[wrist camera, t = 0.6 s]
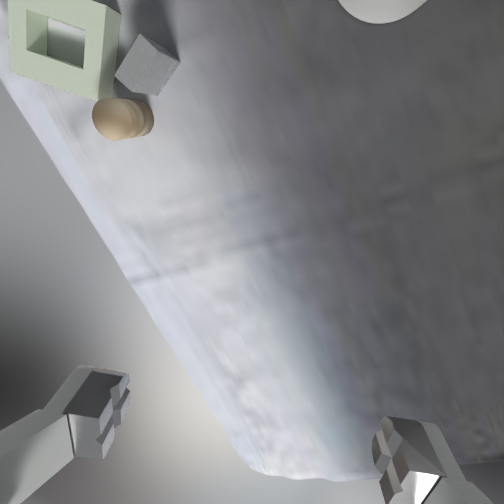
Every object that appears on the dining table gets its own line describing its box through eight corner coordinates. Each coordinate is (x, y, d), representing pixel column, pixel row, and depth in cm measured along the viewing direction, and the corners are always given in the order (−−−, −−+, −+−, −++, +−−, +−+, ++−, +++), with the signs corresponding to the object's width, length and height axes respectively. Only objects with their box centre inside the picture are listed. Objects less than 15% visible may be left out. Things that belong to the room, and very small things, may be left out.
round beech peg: (123, 94, 45) (93, 91, 38) (156, 106, 45) (133, 105, 38) (119, 129, 47) (90, 133, 40) (150, 140, 47) (128, 145, 40)
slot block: (31, -18, 40) (6, -31, 37) (121, 14, 41) (106, 5, 37) (31, 75, 45) (9, 71, 41) (112, 102, 45) (97, 101, 42)
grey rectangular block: (143, 82, 44) (114, 75, 36) (166, 48, 42) (139, 33, 34) (158, 95, 45) (131, 91, 37) (180, 62, 43) (157, 51, 35)
